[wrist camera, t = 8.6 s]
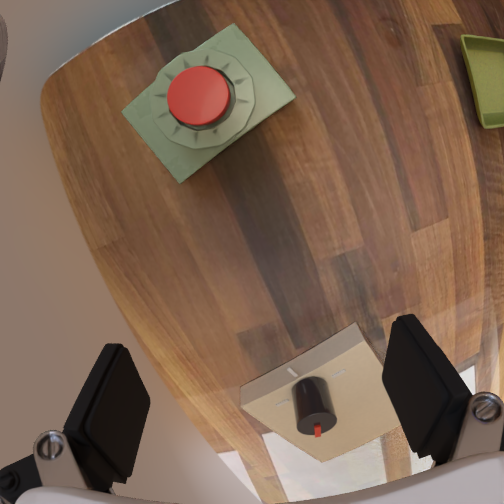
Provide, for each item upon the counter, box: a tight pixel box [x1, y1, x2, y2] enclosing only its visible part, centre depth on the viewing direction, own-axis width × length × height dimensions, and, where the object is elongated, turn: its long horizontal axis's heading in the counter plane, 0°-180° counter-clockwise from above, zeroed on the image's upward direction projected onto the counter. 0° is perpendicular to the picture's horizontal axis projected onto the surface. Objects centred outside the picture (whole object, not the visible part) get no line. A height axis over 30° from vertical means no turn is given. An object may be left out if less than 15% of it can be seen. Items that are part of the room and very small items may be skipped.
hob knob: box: [291, 377, 337, 438], centre depth 25 cm, size 4×4×5 cm
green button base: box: [121, 23, 296, 184], centre depth 19 cm, size 10×7×4 cm
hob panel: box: [240, 322, 401, 463], centre depth 30 cm, size 14×20×3 cm
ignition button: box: [167, 66, 231, 126], centre depth 16 cm, size 4×4×2 cm
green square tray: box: [460, 34, 504, 129], centre depth 18 cm, size 9×9×2 cm
